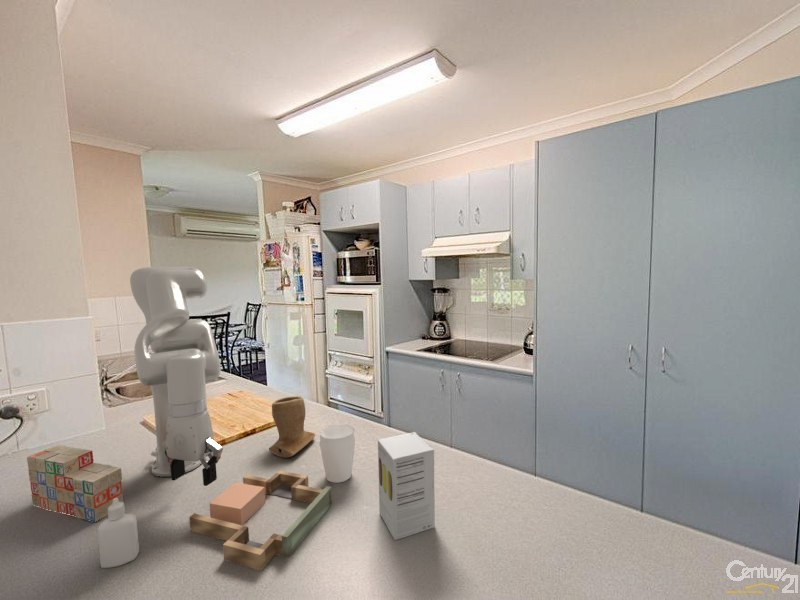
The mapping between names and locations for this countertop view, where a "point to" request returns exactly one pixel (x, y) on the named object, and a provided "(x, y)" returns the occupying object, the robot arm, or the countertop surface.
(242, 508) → the block
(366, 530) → the countertop surface
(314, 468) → the countertop surface
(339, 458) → the cup
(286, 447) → the stone cup
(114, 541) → the eye dropper bottle
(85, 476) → the stack of blocks
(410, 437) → the supplement box
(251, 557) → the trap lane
